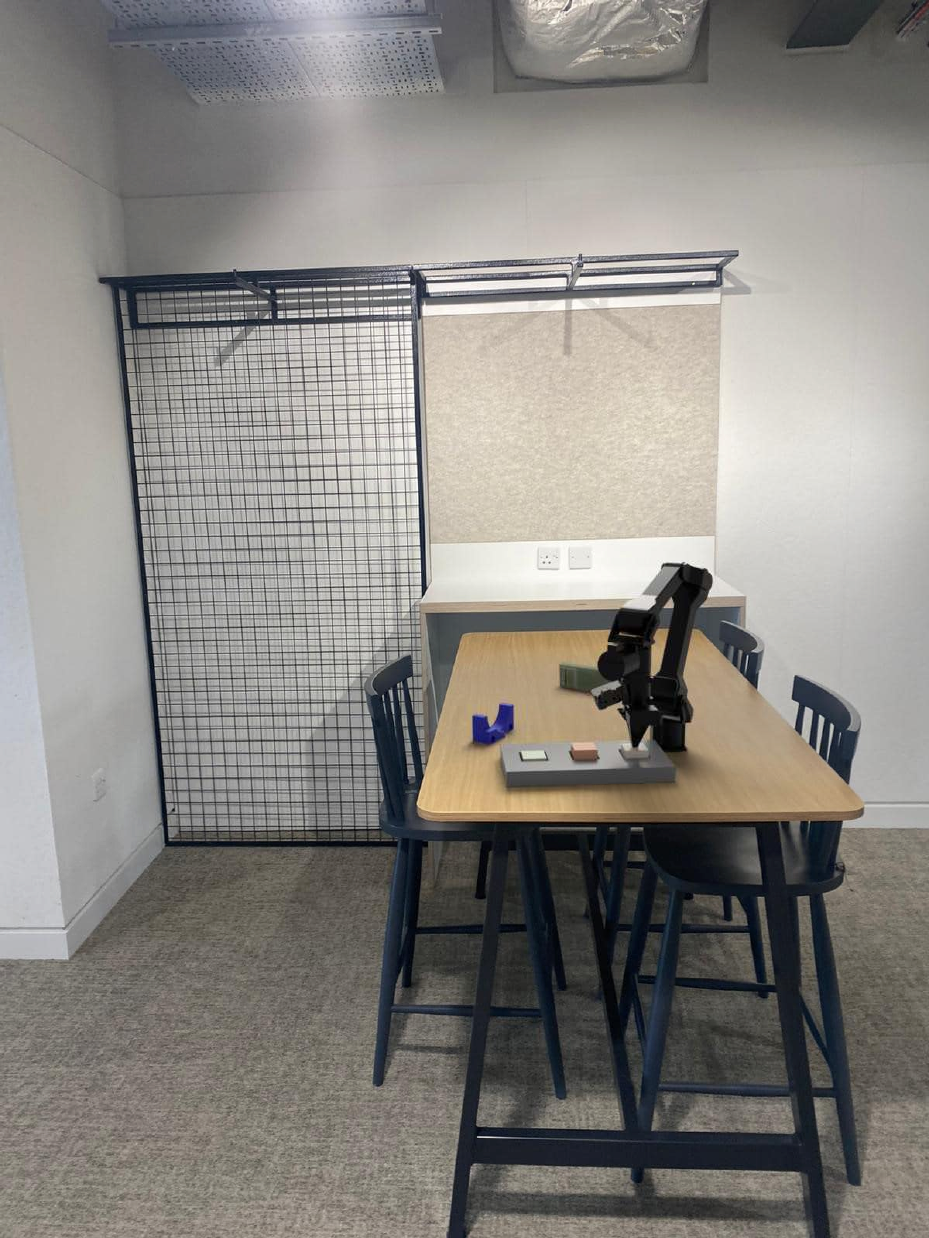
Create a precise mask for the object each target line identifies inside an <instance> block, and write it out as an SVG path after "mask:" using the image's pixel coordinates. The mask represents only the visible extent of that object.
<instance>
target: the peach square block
mask: <svg viewBox="0 0 929 1238" xmlns="http://www.w3.org/2000/svg"><path fill="white" fill-rule="evenodd" d="M585 742H586V743H571V754H572V756H573V758H574V760H593V759H598V750H597V748H596V746H595V744H594V742H593V741H585Z"/></svg>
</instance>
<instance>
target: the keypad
mask: <svg viewBox="0 0 929 1238" xmlns="http://www.w3.org/2000/svg"><path fill="white" fill-rule="evenodd" d="M586 742H587V741H564V742H563V741H562V742H561V741H560V742H530V743H528V742H527V743H525V742H523V743H500V744H499V745H500V746H499V747H500V749H499V750H500V754H499V755H500V756H499V757H500V762H501V766H502V767H501V768H502V772H503V776H504V777H503V778H504V781H505V786H506V788H513V787H514V788H515V787H517V788H518V787H520V788H521V787H547V786H548V787H549V786H552V787H553V786H554V787H555V786H582V785H583V786H585V785H587V786H588V785H617V784H618V785H619V784H621V785H622V784H650V783H675V782H676V771H677V770H676V765H675V764H674V763H673V762H672V761H671V759H670V758H669V757H668V755H667V754H666V753H665V751H663V750H662V749H661V747H660V746H659V745H658V744H657V742H656V741H655V740H650V739H642V740H641V742H640V743H644V745H645V746H646V747H647V749H648V750H649V758H628V759H624V758H623V756H622V754H621V744H624V743H631V741H630V739H629V740H604V741H603V740H599V741H592V742H594V744H595V746H596V748H597V750H598V759H593V760H574V758H573V756H572V754H571V743H586ZM521 751H544V753H545V756H546V761H524V762H521Z"/></svg>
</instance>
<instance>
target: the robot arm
mask: <svg viewBox="0 0 929 1238" xmlns="http://www.w3.org/2000/svg"><path fill="white" fill-rule="evenodd" d="M713 584H714V579H713V575H712V573H710V572H709V570H708V568H706V567H696V566H693V565H691V564H690V563H686V562H685V561H676V560H675V561H674V560H673V561H672V560H671V561H670V560H667V561H664V562H663V563H662V564H661V568H660V570H659V571H658V573H656V575H655V576H654V578H653V579H652V581H650V583H649V584H648V586H647V587H645V589H644V591H643V592H642V593H641V594H640V596H637V597H635V598H632V599H628V601H626V602H625V603H624V604H623V605H621V606H620V608H619V609H618V611H617V612H616V613H615V616H614V620H613V623H612V626H611V628H610V632H609V634H608V638H607V643H609V644H607V645H606V651H603V653H601V654H600V656H598V660H597V661H596V662H597V663H596V665H597V666H596V667H598V670H599V673H600V674H601V676H602V677H603V678H605V679H606V680H609V681H615V682H611V683H608V684H605V685H602V686H600V687H597V688H594V689H592V690H591V691H590V693H591V695H592V699H593V701H594V703H595V704H594V705H595V706H596V707H597V709H598V711H602V710H603V711H604V710H606V709H607V708H609V707H612V706H615V705H616V704H619V703H620V707H619V708H616V710H617V711H618V713H619V715H620V716H621V718H622V719H623V720H624V722H626V723H625V724H626V727H627V732H628V735H629V740H630V741H631V746H632V747H633V748H635V747H638V746H639V744H640V742H641V740H643V738H644V736H645V734H646V732H647V730H648V728H649V740H655V741H656V742H657V744H658V745H659V746H660V747H661V749H662V750H663V751H664V752H678V751H679V752H680V751H684V752H686V751H688V747H687V745H686V725H687V724H690V723H692V720H693V717H694V708H693V705H692V703H691V701H689V698H688V692H689V689H688V687H687V684H686V681H685V679H684V673H685V672H684V671H685V668H686V662H687V657H688V653H689V652H688V651H689V648H690V644H691V638H692V634H693V629H694V624H695V620H696V615H697V611H698V609H699V608H700V607H702V605H703V604H705V602H706V601H707V600H708V596H709V594H710V590H711V589H712V588H713ZM670 600H671V601H672V602H673V607H672V612H671V616H670V621H669V627H668V631H667V635H666V640H665V644H664V645H665V646H664V650H663V653H662V659H661V664H660V667H659V670H658V672H657V673H656V674H655V675H652V646H653V645H654V644H655V643H656V640H655V639H654V638H655V635H656V633H657V631H658V629H659V627H660V624H661V617H660V614H661V612H662V611H663V609H664V608H665V607H666V605H667V604H668V602H669V601H670ZM616 680H617V681H616Z"/></svg>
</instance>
